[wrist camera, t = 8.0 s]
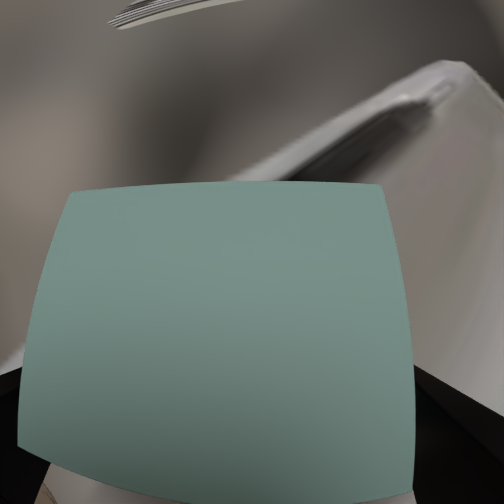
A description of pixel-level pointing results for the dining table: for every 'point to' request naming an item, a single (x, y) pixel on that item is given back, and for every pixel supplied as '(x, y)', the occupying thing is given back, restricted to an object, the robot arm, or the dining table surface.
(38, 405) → the teal block
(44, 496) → the teacup with lid
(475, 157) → the dining table surface
